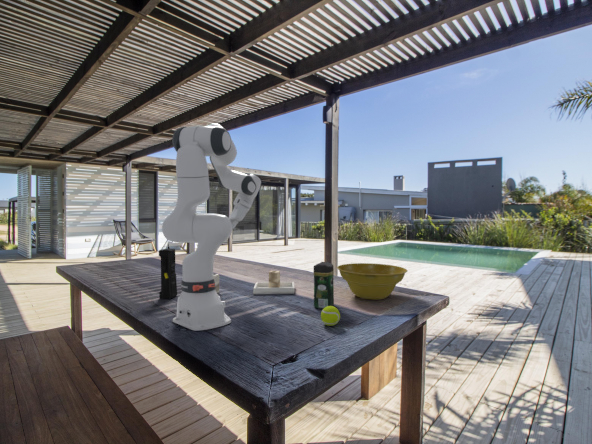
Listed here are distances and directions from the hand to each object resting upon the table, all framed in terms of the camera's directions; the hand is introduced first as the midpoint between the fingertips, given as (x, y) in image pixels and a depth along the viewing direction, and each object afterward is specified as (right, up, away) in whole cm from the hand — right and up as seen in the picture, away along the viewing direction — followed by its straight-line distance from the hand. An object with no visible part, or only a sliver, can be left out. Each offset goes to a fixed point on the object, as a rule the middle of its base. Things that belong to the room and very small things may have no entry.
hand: (230, 228), depth 158 cm
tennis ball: (+45, -33, -49) cm, 74 cm away
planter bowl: (+69, -32, -10) cm, 76 cm away
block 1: (-8, -32, -2) cm, 33 cm away
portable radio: (-27, -32, -11) cm, 43 cm away
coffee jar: (+45, -32, -27) cm, 61 cm away
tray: (+22, -32, +2) cm, 39 cm away
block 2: (+22, -31, +1) cm, 38 cm away
